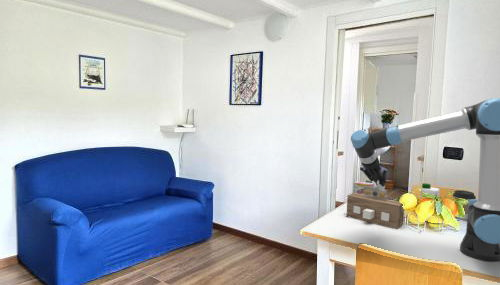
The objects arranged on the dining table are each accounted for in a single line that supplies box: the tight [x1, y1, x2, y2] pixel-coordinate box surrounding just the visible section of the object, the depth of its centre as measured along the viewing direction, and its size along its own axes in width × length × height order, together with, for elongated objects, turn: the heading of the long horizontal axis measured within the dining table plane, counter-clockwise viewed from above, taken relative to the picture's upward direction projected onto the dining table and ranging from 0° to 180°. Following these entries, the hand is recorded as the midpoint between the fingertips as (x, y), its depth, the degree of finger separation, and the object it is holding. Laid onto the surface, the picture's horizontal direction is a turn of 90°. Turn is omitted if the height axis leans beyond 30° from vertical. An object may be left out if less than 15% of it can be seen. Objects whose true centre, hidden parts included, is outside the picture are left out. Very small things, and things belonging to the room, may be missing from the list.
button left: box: [353, 205, 361, 214], centre depth 194 cm, size 6×4×4 cm, turn 136°
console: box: [345, 186, 405, 230], centre depth 188 cm, size 8×28×18 cm, turn 46°
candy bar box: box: [352, 180, 375, 195], centre depth 209 cm, size 11×5×16 cm, turn 65°
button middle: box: [363, 208, 375, 219], centre depth 185 cm, size 6×4×4 cm, turn 136°
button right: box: [381, 211, 390, 222], centre depth 182 cm, size 6×4×4 cm, turn 136°
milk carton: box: [419, 183, 441, 199], centre depth 191 cm, size 9×9×20 cm
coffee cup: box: [452, 189, 477, 221], centre depth 198 cm, size 11×11×15 cm
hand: (382, 189), depth 172 cm, fingers closed
